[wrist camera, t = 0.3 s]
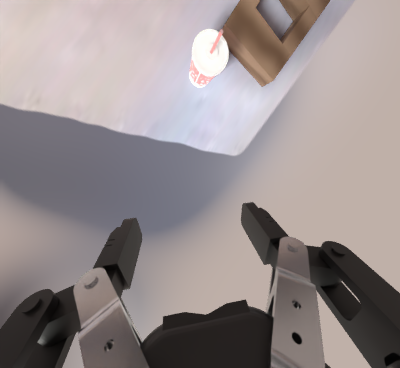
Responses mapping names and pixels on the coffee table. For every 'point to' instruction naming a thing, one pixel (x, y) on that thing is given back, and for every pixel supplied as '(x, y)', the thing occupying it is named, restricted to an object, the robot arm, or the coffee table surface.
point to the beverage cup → (208, 57)
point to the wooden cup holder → (268, 36)
